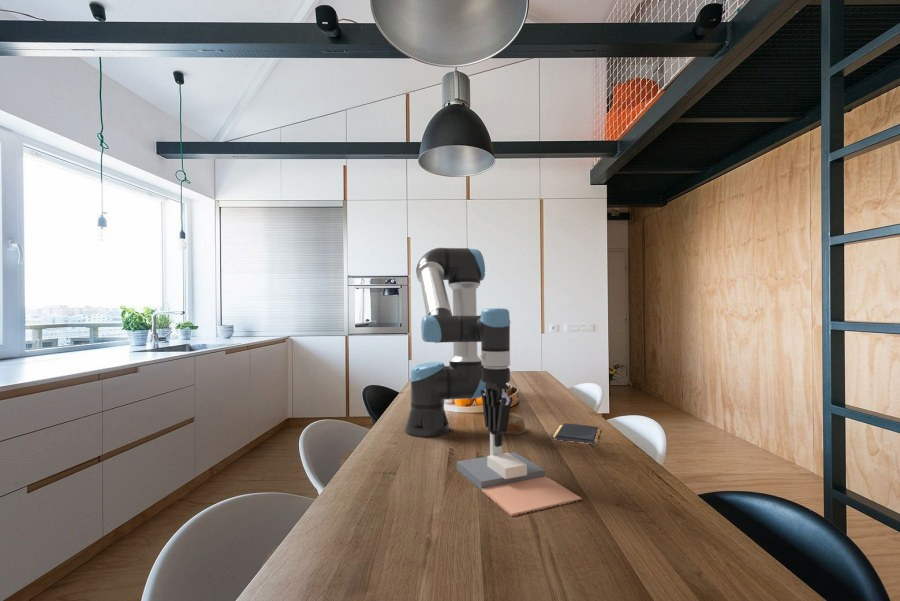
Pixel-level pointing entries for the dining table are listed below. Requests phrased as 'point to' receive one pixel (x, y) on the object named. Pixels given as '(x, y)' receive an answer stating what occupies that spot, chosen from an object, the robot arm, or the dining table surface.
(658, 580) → the dining table surface
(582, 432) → the dark grey book
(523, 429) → the bread roll
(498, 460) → the tile
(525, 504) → the mat
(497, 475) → the grey slab
